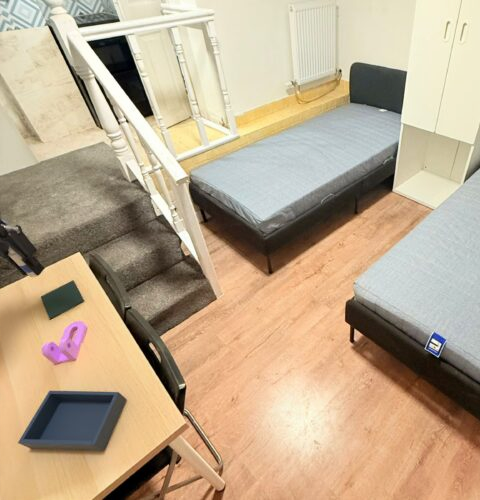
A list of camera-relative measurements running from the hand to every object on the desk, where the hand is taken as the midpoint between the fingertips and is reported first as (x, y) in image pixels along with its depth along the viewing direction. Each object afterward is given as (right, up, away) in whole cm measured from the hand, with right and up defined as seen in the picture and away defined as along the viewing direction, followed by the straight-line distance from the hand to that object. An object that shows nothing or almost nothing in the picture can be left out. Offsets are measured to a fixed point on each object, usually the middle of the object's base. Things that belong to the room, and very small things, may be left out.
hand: (34, 271), depth 97 cm
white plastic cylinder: (0, -1, +1) cm, 1 cm away
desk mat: (0, -10, +11) cm, 15 cm away
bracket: (+12, -21, 0) cm, 24 cm away
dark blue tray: (+26, -36, -16) cm, 47 cm away
